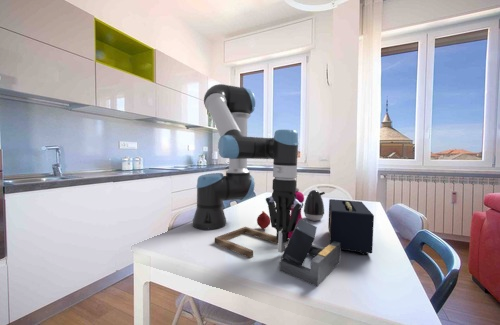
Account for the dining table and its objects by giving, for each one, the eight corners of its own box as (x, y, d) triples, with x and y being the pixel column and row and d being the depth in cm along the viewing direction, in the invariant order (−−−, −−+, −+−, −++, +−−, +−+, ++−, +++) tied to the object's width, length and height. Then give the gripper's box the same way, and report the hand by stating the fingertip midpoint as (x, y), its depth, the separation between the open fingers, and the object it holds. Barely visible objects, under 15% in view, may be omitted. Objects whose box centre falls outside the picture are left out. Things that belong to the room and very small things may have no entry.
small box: (301, 270, 63) (316, 238, 61) (280, 258, 65) (294, 227, 63) (305, 254, 73) (318, 226, 71) (287, 244, 75) (299, 217, 73)
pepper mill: (304, 242, 83) (306, 189, 82) (285, 240, 84) (287, 188, 83) (304, 235, 90) (305, 186, 89) (286, 233, 91) (287, 185, 90)
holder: (214, 243, 80) (214, 237, 80) (245, 231, 93) (245, 226, 93) (250, 258, 69) (250, 252, 69) (279, 242, 82) (279, 237, 82)
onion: (271, 228, 98) (271, 210, 97) (268, 232, 92) (268, 213, 92) (258, 226, 99) (259, 208, 99) (255, 230, 94) (255, 212, 94)
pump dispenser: (327, 222, 107) (328, 191, 107) (306, 222, 107) (307, 191, 107) (320, 216, 117) (321, 188, 117) (301, 216, 117) (302, 188, 117)
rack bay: (279, 270, 62) (280, 249, 61) (306, 251, 75) (307, 233, 74) (317, 286, 55) (318, 262, 54) (339, 262, 68) (340, 242, 67)
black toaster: (328, 231, 95) (329, 197, 95) (360, 235, 91) (362, 199, 91) (330, 252, 75) (331, 208, 74) (372, 258, 71) (374, 212, 70)
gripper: (261, 177, 71) (259, 248, 72) (296, 181, 63) (293, 261, 64) (274, 176, 77) (272, 242, 78) (308, 179, 69) (305, 253, 70)
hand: (281, 250), depth 71 cm, fingers closed
